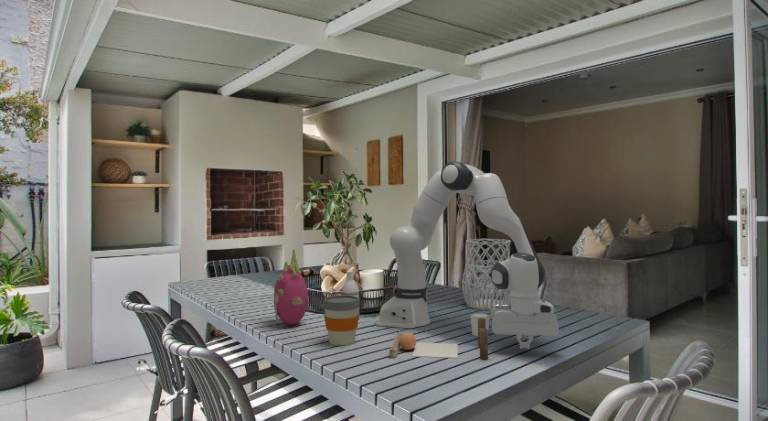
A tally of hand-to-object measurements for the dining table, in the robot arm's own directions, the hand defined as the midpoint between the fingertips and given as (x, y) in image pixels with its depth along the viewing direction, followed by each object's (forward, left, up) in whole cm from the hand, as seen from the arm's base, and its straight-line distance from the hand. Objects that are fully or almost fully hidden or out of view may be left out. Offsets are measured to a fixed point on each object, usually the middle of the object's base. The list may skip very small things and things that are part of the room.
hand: (524, 348), depth 150 cm
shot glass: (-13, +20, -2) cm, 24 cm away
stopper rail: (-41, 0, -2) cm, 41 cm away
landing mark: (-28, 0, -2) cm, 28 cm away
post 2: (-13, -6, -2) cm, 15 cm away
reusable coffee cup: (-61, +6, -2) cm, 61 cm away
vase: (-7, +68, -2) cm, 68 cm away
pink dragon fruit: (-87, +26, -2) cm, 91 cm away
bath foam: (-65, +37, -2) cm, 75 cm away
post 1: (-13, +6, -2) cm, 14 cm away
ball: (-37, 0, +1) cm, 37 cm away
